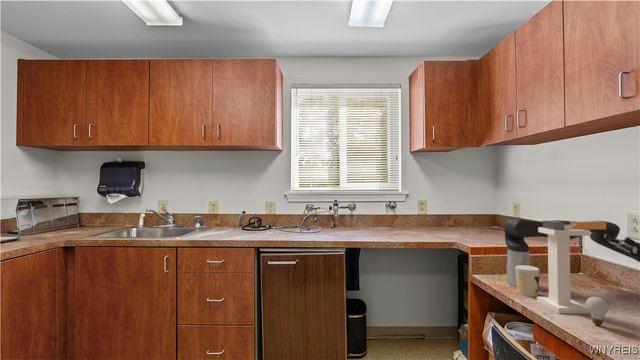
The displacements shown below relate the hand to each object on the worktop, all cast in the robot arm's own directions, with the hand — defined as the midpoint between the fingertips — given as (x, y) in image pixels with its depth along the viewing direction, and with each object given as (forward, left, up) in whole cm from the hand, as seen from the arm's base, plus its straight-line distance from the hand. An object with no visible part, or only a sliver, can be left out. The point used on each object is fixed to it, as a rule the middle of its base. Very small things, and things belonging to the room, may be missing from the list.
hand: (614, 237), depth 123 cm
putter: (0, -16, +3) cm, 16 cm away
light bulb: (+16, -21, -29) cm, 39 cm away
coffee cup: (-15, -26, -29) cm, 41 cm away
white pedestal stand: (0, -21, -29) cm, 35 cm away
